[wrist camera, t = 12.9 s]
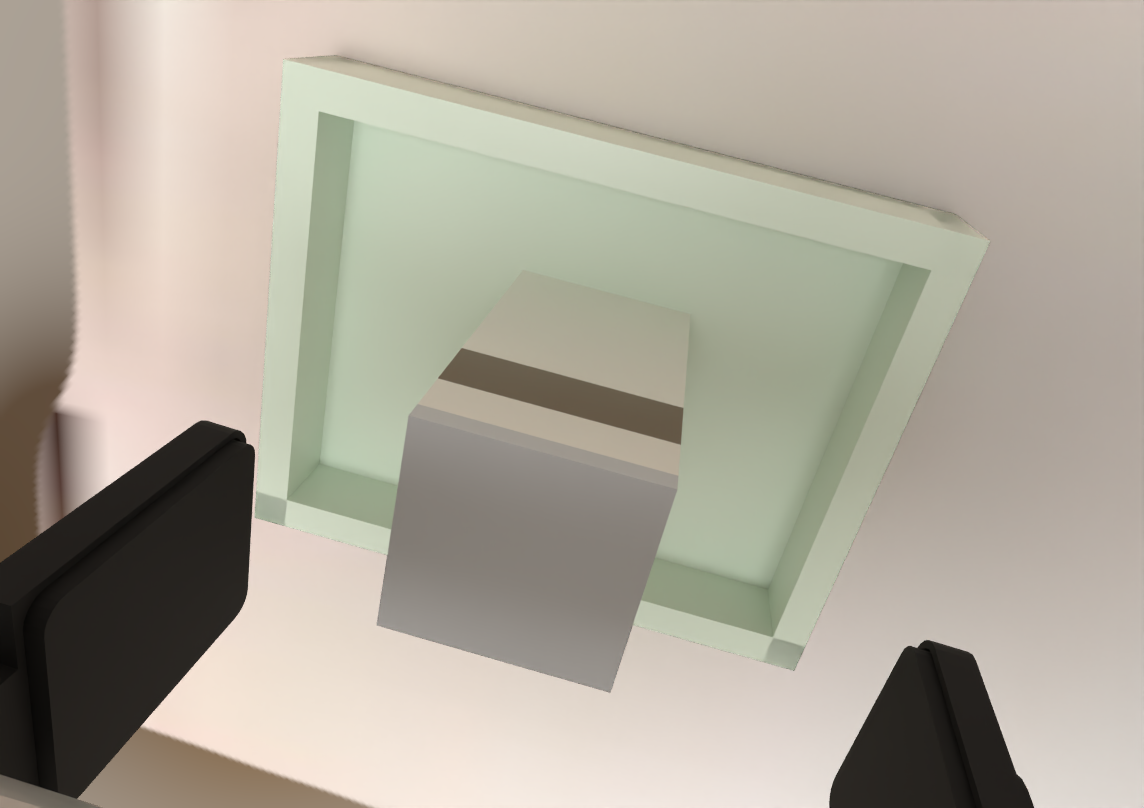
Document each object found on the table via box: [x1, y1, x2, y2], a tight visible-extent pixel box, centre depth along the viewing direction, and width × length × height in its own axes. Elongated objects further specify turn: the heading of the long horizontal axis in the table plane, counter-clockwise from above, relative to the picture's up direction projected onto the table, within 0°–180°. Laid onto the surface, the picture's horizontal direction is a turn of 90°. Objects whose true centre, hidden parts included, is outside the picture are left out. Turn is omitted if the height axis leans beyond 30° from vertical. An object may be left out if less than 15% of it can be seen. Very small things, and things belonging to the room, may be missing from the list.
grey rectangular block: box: [377, 270, 691, 692], centre depth 16 cm, size 4×4×8 cm
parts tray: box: [255, 55, 990, 671], centre depth 19 cm, size 14×11×2 cm
